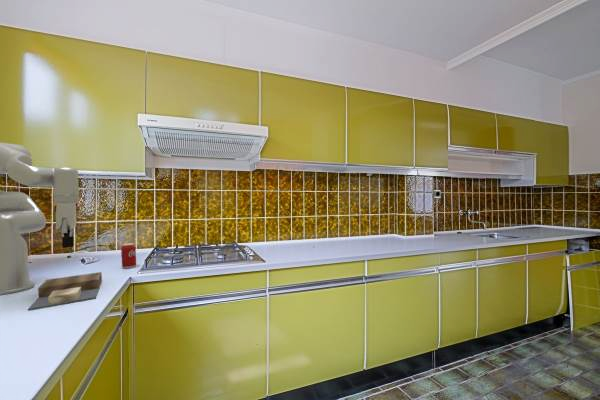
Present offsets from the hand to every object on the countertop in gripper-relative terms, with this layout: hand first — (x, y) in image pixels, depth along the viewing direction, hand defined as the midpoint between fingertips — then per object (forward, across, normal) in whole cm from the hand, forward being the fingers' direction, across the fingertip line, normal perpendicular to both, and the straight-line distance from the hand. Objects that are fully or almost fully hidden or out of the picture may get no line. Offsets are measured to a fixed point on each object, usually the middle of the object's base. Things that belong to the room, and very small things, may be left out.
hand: (68, 246), depth 109 cm
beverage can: (+18, -29, +20) cm, 39 cm away
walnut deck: (+18, -3, +1) cm, 18 cm away
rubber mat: (+18, +10, +1) cm, 20 cm away
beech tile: (+14, +11, 0) cm, 18 cm away
